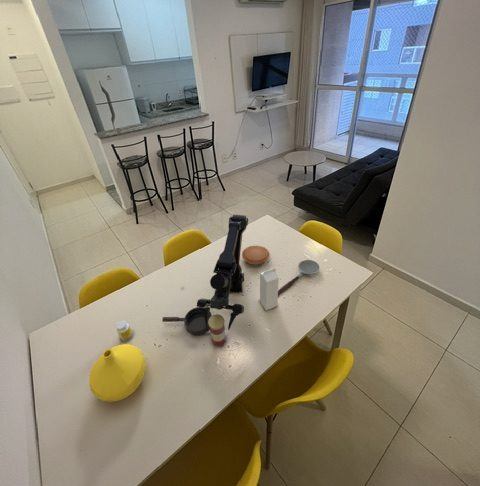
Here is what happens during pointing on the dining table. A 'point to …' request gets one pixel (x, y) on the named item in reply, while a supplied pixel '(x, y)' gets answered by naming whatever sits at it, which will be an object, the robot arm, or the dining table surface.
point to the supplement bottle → (124, 330)
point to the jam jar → (217, 329)
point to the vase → (117, 373)
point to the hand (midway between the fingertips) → (217, 328)
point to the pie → (255, 255)
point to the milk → (269, 288)
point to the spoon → (302, 272)
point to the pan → (196, 322)
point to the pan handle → (172, 319)
